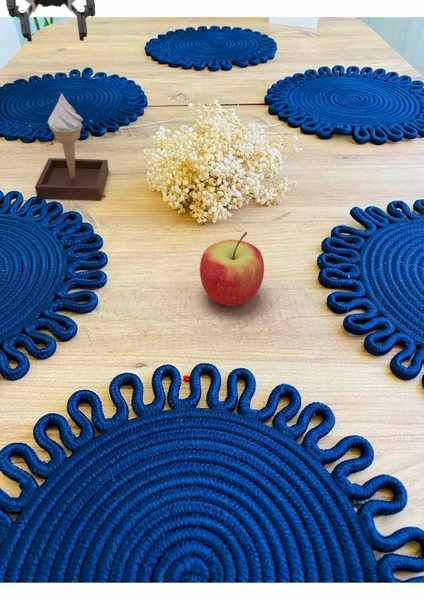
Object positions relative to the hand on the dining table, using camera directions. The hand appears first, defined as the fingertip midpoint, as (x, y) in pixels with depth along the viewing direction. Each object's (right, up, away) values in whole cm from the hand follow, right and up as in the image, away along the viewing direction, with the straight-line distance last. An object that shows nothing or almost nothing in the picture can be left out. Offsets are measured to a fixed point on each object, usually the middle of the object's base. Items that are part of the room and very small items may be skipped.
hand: (55, 38), depth 89 cm
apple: (+29, -44, -17) cm, 55 cm away
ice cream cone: (+2, -23, +4) cm, 23 cm away
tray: (+2, -24, +4) cm, 24 cm away
